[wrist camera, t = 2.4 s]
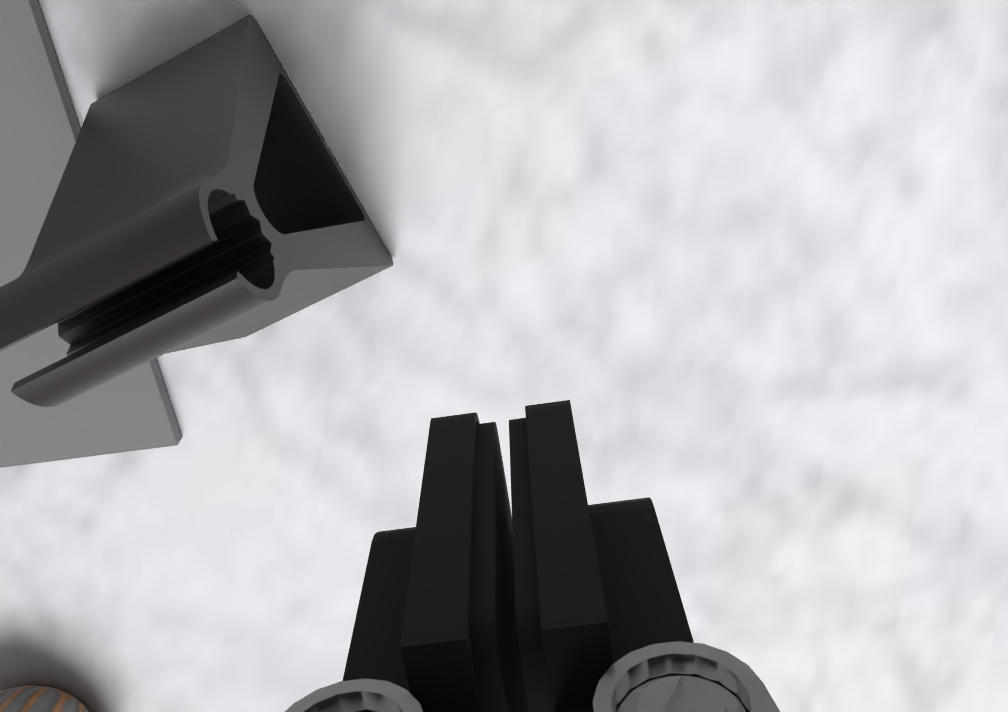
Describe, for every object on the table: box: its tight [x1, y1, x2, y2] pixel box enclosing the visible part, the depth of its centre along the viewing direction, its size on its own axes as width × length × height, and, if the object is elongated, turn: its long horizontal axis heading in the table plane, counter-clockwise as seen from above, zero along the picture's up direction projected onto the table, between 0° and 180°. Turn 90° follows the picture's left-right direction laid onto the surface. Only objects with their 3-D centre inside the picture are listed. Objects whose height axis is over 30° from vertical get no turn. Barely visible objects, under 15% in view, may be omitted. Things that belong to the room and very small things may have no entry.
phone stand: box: [0, 15, 393, 407], centre depth 25 cm, size 9×6×12 cm, turn 26°
